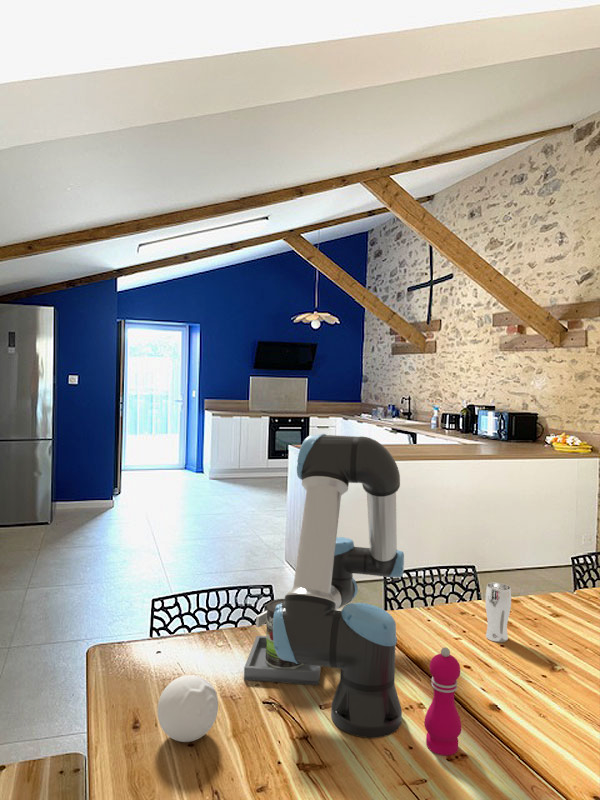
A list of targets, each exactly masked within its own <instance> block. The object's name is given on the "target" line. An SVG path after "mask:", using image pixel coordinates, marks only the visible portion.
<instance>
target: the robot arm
mask: <svg viewBox="0 0 600 800" xmlns="http://www.w3.org/2000/svg"><path fill="white" fill-rule="evenodd" d="M296 461H297V463H296V464H297V466H296V475H297V477H298V478H299V479H300V480H301V486H302V487H303V488H304V490H305V491H306V493H305V501H304V507H303V508H304V509H303V514H302V521H301V522H302V523H301V529H300V535H299V536H300V537H299V544H298V550H297V558H296V565H295V570H294V572H295V573H294V579H293V587H292V589H291V590H290V591H288V592H287V593H286V594H285V596H284V599H285V600H284V604H283V603H280V604H278V605H277V606H276V608H275V612H274V617H273V641H274V647H275V651H276V654H277V656H278V657H279V658H280V659H282V660H285V661H290V662H295V663H296V664H299V663H302V664H310V665H317V666H321V667H324V668H325V667H327V668H333V669H340V677H339V678H340V679H339V681H338V686H337V688H336V691H335V693H334V696H333V697H332V698H333V699H332V702H331V704H330V705H331V706H330V717H331V720H332V722H333V724H334V725H335V726H336V727H337V728H338V729H340V730H341V731H343V732H345V733H347V734H350V735H353V736H355V737H360V738H369V739H370V738H371V739H372V738H374V739H375V738H376V739H377V738H383V737H387V736H390V735H392V734H394V733H396V731H398V730H399V729H400V728H401V725H402V721H403V720H402V717H403V712H402V706H401V703H400V698H399V696H398V695H399V694H398V692H397V688H396V686H395V685H396V684H395V677H396V676H395V675H396V674H395V673H396V645H397V643H398V637H397V624H396V620H395V618H394V617H393V616H392V615H391V614H390V613H389V612H387V611H386V610H385V609H383V608H380V607H379V606H377V605H372V604H368V603H365V602H364V603H363V602H356V603H355V602H354V603H353V602H352V601H353V600H354V599H355V598H356V596H357V595H358V592H359V588H358V584H357V582H356V580H355V579H354V577H353V576H354V574H355V575H366V576H367V575H369V576H374V577H385V578H401V577H402V576H403V575H404V566H405V553H404V551H401V550H398V549H397V545H398V543H397V542H398V541H397V539H398V538H397V535H398V534H397V492H398V491H399V490H400V487H401V475H400V469H399V467H398V465H397V463H396V461H395V459H394V457H393V455H392V454H391V453H390V451H389V450H388V449H387V448H386V447H385V446H384V445H383V444H382V443H381V442H379V441H377V440H375V439H373V438H370V437H367V436H356V435H355V436H350V435H333V434H332V435H331V434H329V435H328V434H324V433H323V434H310V435H307V437H306V438H304V440H303V441H302V444H301V445H300V448H299V452H298V456H297V460H296ZM349 483H350V484H352V483H353V484H362V485H361V486H362V488H363V490H364V492H365V493H366V503H367V518H368V519H367V521H368V522H367V523H368V539H369V543H368V544H369V547H361V546H355V543H354V541H353V539H351V538H349V537H342V536H338V537H337V535H338V526H339V518H340V509H341V501H342V500H341V499H342V496H343V495H344V494H345V493H347V492H348V490H349ZM351 602H352V603H351ZM267 604H268V603H266V604H264V611H262V612H260V614H258V615H256V617H255V619H256V620H255V627H256V628H260V627H262V626H264V625H265V624H267ZM341 608H342V610H339V609H341Z"/></svg>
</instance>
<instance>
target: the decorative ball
mask: <svg viewBox="0 0 600 800" xmlns="http://www.w3.org/2000/svg"><path fill="white" fill-rule="evenodd" d="M217 695H218V693H217V691H216V689H215V688H214V686H213V684H211V682H209V681H208V680H207V679H205V678H203V677H201V676H199V675H193V674H185V675H181V676H179V677H178V678H175V679H173V680H172V681H171V682H169V684H167V686H166V687H165V688H164V689H163V691H162V692H161V695H160V697H159V699H158V703H157V710H156V711H157V718H158V724H159V725H160V728H161V729H162V731H163V732H164V733H165V735H167V736H168V737H169V738H170V739H172V740H175V741H176V742H180V743H181V742H182V743H190V742H195V741H197V740H199V739H200V738H202V737H203V736H205V735H206V734H207V733H208V732H209V731H210V730H211V728H212V727H213V725H214V724H215V722H216V719H217V715H218V711H219V701H218V700H219V699H218V696H217Z"/></svg>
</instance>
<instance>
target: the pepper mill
mask: <svg viewBox="0 0 600 800" xmlns="http://www.w3.org/2000/svg"><path fill="white" fill-rule="evenodd" d="M429 673H430V674H431V676H432V677H431V687H432V688H433V698H432V700H431V703H430V705H429V707H428V709H427V710H426V713H425V716H424V728H425V730H426V736H425V737H426V738H425V744H426V746H427V749H429V750H430V751H431V752H433V753H434V754H436V755H439V756H440V755H441V756H453V755H455V754H456V753H457V752H458V750H459V739H458V738H459V736H460V735H461V733H462V720H461V717H460V715H459V711H458V709H457V707H456V703H455V692H456V691H457V690H458V681H457V680H458V679H459V678H460V675H461V665H460V662H459V661H458V659H457V658H456V657H454V656H453V655H451V651H450V649H449V648H448V647H443V648H441V650H440V653H437V654H436V655H434V656H433V657H432V658H431V659H430V663H429Z"/></svg>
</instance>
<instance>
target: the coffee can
mask: <svg viewBox="0 0 600 800" xmlns="http://www.w3.org/2000/svg"><path fill="white" fill-rule="evenodd" d="M284 600H285V598H277V599H274V600H270V601H269V602H268V603H266V604H267V623H266V634H265V636H266V658H265V661H266V663H267V664H268V665H269V666H270V667H273V668H286V669H296V668H299V667H301V666H302V665H303V664H302V663H299V664H296V663H295V662H290V661H285V660H282V659H280V658H279V657H278V656H277V654H276V651H275V647H274V641H273V617H274V612H275V608H276V606H277V605H278V604H280V603H283V604H284Z"/></svg>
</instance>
